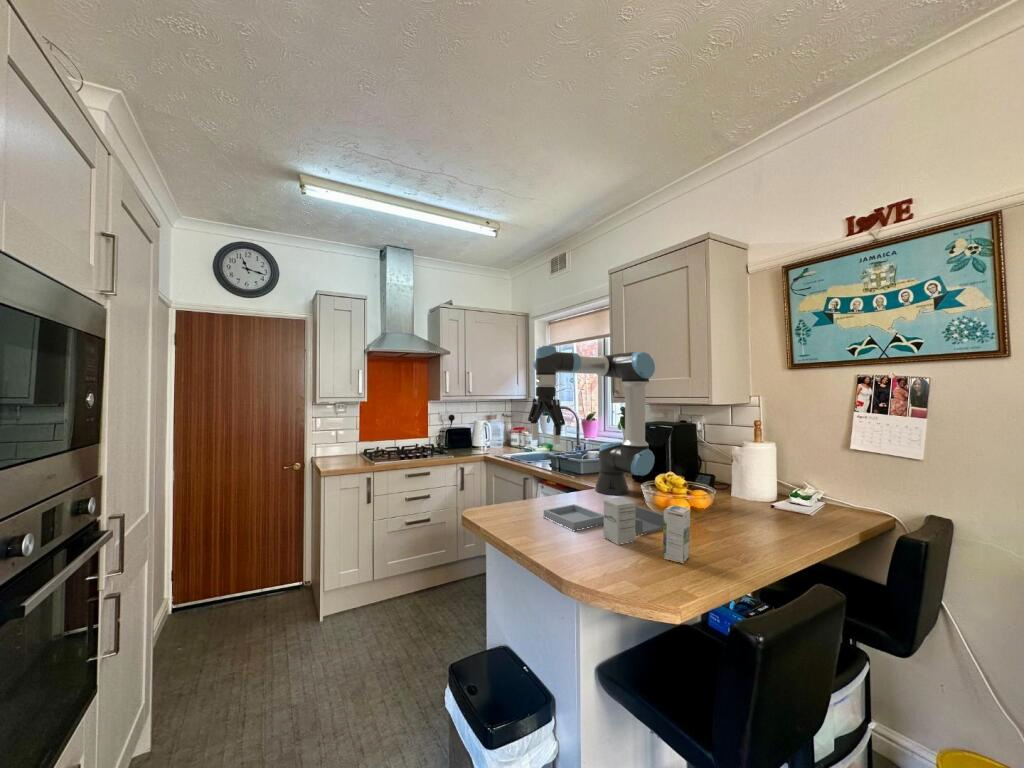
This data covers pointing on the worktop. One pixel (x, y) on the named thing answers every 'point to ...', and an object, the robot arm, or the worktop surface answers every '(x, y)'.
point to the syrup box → (676, 533)
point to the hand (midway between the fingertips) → (545, 442)
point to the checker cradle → (647, 520)
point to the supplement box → (619, 520)
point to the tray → (574, 516)
